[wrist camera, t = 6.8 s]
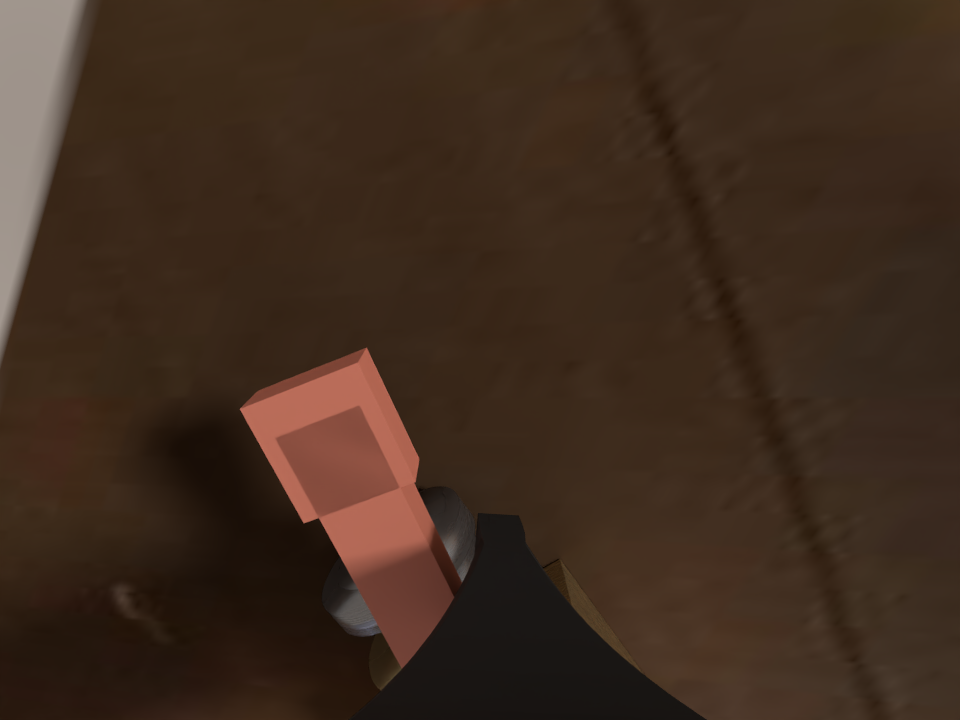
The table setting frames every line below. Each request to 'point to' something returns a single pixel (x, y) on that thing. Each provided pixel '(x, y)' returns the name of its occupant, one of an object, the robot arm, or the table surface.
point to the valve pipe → (460, 545)
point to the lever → (359, 490)
